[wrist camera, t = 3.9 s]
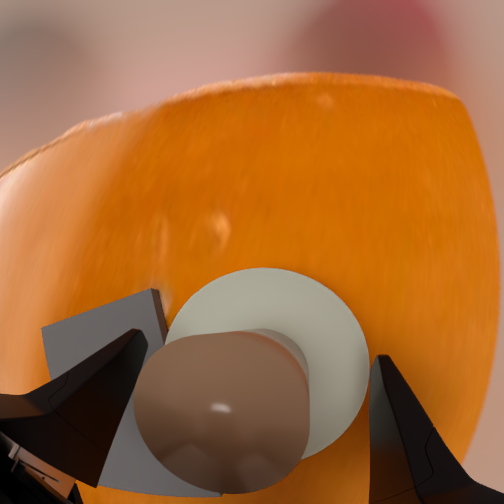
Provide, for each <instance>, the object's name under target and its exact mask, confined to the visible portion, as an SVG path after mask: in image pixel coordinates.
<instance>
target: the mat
mask: <svg viewBox="0 0 504 504" xmlns="http://www.w3.org/2000/svg"><path fill="white" fill-rule="evenodd" d="M132 328H136V329H140V330H142V331H143V333H144V335H145V337H146V339H147V341H148V350H147V353H146V356H145V359H144V362H143V366H144V365H145V363H146V362H147V361H148V359H149V358H150V357H151V356H152V355H153V354H154V353H155V352H156V351H158V350H159V349H160V348H161V347H163V346H165V341H166V337H167V335H168V330H167V326H166V322H165V318H164V314H163V310H162V306H161V301H160V297H159V292H158V290H155V289H151V288H150V289H147V290H145V291H142V292H139V293H136V294H134V295H131V296H128V297H125V298H123V299H120V300H117V301H114V302H111V303H109V304H106V305H103V306H100V307H98V308H95V309H92V310H89V311H87V312H84V313H81V314H78V315H76V316H73V317H70V318H67V319H64V320H62V321H59V322H56V323H53V324H51V325H48V326H45V327H42V328H41V330H42V337H43V343H44V349H45V354H46V359H47V364H48V369H49V373H50V377H51V381H52V380H53V379H55V378H57V377H58V376H60V375H62V374H63V373H65V372H66V371H68V370H70V369H71V368H72V367H74V366H75V365H77V364H78V363H80V362H82V361H83V360H85V359H86V358H88V357H89V356H91V355H92V354H94V353H95V352H97V351H98V350H100V349H101V348H103V347H104V346H106V345H107V344H109V343H110V342H112V341H113V340H115V339H117V338H118V337H120V336H121V335H123V334H124V333H126V332H127V331H129V330H130V329H132ZM143 366H142V368H143ZM141 370H142V369H141ZM134 391H135V388H134V390H133V392H132V395H131V397H130V400H129V402H128V405H127V407H126V409H125V412H124V414H123V417H122V419H121V422H120V425H119V427H118V430H117V432H116V435H115V437H114V440H113V443H112V445H111V448H110V451H109V453H108V457H107V459H106V462H105V465H104V468H103V471H102V473H101V476H100V479H99V482H98V485H101V486H105V487H110V488H114V489H120V490H125V491H131V492H137V493H145V494H153V495H163V496H177V497H221V496H222V495H223V493H217V492H212V491H208V490H204V489H201V488H198V487H196V486H193V485H191V484H189V483H187V482H185V481H183V480H181V479H180V478H178V477H177V476H175V475H174V474H172V473H171V472H170V471H168V470H167V469H166V468H165V467H164V466H163V465H162V464H161V463H160V462H159V461H158V460H157V459H156V458H155V457H154V456H153V454H152V453H151V452H150V450H149V449H148V447H147V446H146V444H145V442H144V441H143V438H142V436H141V434H140V432H139V429H138V426H137V423H136V419H135V415H134V405H133V403H134Z"/></svg>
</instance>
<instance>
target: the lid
mask: <svg viewBox="0 0 504 504" xmlns="http://www.w3.org/2000/svg"><path fill="white" fill-rule="evenodd" d="M369 373H370V361H369V353H368V347H367V344H366V340H365V337H364V334H363V332H362V330H361V327H360V325H359V323H358V321H357V320H356V318H355V317H354V315H353V313H352V312H351V310H350V309H349V308H348V307H347V306H346V304H345V303H344V302H343V301H342V300H341V299H340V298H339V297H338V296H337V295H336V294H334V293H333V292H332V291H331V290H330V289H328V288H327V287H325V286H324V285H322V284H321V283H319V282H317V281H315V280H313V279H311V278H309V277H307V276H304V275H301V274H299V273H296V272H292V271H288V270H283V269H275V268H252V269H246V270H241V271H236V272H233V273H230V274H227V275H224V276H222V277H220V278H218V279H216V280H214V281H212V282H210V283H209V284H207V285H206V286H204V287H202V288H201V289H200V290H199V291H198V292H196V293H195V294H194V295H193V296H192V297H191V298H190V299H189V300H188V301H187V302H186V303H185V304H184V305H183V307H182V308H181V310H180V311H179V312H178V314H177V315H176V317H175V319H174V321H173V323H172V325H171V327H170V329H169V332H168V335H167V337H166V341H165V346H163V347H161V348H160V349H159V350H158V351H156V352H155V353H154V354H153V355H152V356H151V357H150V358H149V359H148V361H147V362H146V363H145V365H144V366H143V368H142V370H141V372H140V374H139V376H138V379H137V382H136V385H135V391H134V403H133V405H134V415H135V419H136V423H137V426H138V429H139V432H140V434H141V436H142V438H143V441H144V442H145V444H146V446H147V447H148V449H149V450H150V452H151V453H152V454H153V456H154V457H155V458H156V459H157V460H158V461H159V462H160V463H161V464H162V465H163V466H164V467H165V468H166V469H167V470H168V471H170V472H171V473H172V474H174V475H175V476H177V477H178V478H180V479H181V480H183V481H185V482H187V483H189V484H191V485H193V486H196V487H198V488H201V489H204V490H208V491H212V492H217V493H225V494H241V493H249V492H254V491H258V490H261V489H264V488H267V487H269V486H271V485H273V484H275V483H277V482H278V481H280V480H281V479H283V478H284V477H285V476H287V475H288V474H289V473H290V472H291V471H292V470H293V469H294V468H295V466H296V465H297V464H298V463H299V461H300V460H301V459H304V458H307V457H309V456H311V455H314V454H316V453H318V452H320V451H321V450H323V449H324V448H326V447H327V446H329V445H330V444H332V443H333V442H334V441H335V440H336V439H338V438H339V437H340V436H341V435H342V434H343V433H344V432H345V431H346V429H347V428H348V427H349V426H350V425H351V423H352V422H353V420H354V419H355V417H356V416H357V414H358V412H359V410H360V408H361V406H362V404H363V401H364V398H365V395H366V392H367V388H368V382H369Z"/></svg>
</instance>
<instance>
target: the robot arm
mask: <svg viewBox="0 0 504 504" xmlns="http://www.w3.org/2000/svg"><path fill="white" fill-rule="evenodd" d="M147 350H148V341H147V339H146V337H145V335H144V333H143V331H142V330H140V329H136V328H132V329H130V330H129V331H127V332H126V333H124V334H123V335H121V336H120V337H118V338H117V339H115V340H113V341H112V342H110V343H109V344H107V345H106V346H104V347H103V348H101V349H100V350H98V351H97V352H95V353H94V354H92V355H91V356H89V357H88V358H86V359H85V360H83V361H82V362H80V363H78V364H77V365H75V366H74V367H72V368H71V369H70V370H68V371H66V372H65V373H63V374H62V375H60V376H58V377H57V378H55V379H53V380H52V381H50V382H48V383H46V384H44V385H43V386H41V387H39V388H37V389H35V390H33V391H31V392H29V393H27V394H23V395H10V394H0V504H83V501H82V499H81V496H80V493H79V490H78V487H77V484H76V483H75V481H76V479H77V480H79V481H81V482H83V483H85V484H87V485H90V486H92V487H94V488H96V487H97V485H98V482H99V479H100V476H101V473H102V471H103V468H104V465H105V462H106V459H107V457H108V453H109V451H110V448H111V445H112V443H113V440H114V437H115V435H116V432H117V430H118V427H119V425H120V422H121V419H122V417H123V414H124V412H125V409H126V407H127V405H128V402H129V400H130V397H131V395H132V392H133V390H134V388H135V385H136V382H137V379H138V376H139V374H140V372H141V369H142V366H143V362H144V359H145V356H146V353H147ZM369 425H370V489H369V504H504V493H501V492H499V491H496V490H494V489H491V488H489V487H486V486H484V485H482V484H479V483H478V482H476V481H474V480H473V479H472V478H471V477H470V476H469V475H468V474H467V473H466V472H465V470H464V469H463V468H462V466H461V465H460V464H459V462H458V461H457V460H456V458H455V457H454V456H453V454H452V453H451V451H450V450H449V449H448V447H447V446H446V444H445V443H444V441H443V440H442V438H441V437H440V435H439V433H438V432H437V430H436V428H435V427H433V426H434V425H433V423H432V422H431V420H430V419H429V417H428V415H427V414H426V412H425V410H424V409H423V407H422V406H421V404H420V402H419V401H418V399H417V398H416V396H415V394H414V393H413V391H412V390H411V388H410V387H409V385H408V384H407V382H406V381H405V379H404V378H403V376H402V375H401V373H400V371H399V370H398V369H397V367H396V366H395V364H394V363H393V361H392V360H391V358H390V357H389V356H388V355H377V356H376V358H375V361H374V363H373V365H372V368H371V373H370V398H369Z"/></svg>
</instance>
